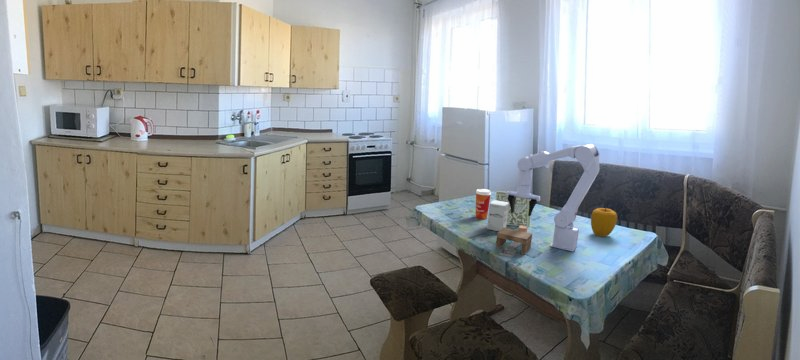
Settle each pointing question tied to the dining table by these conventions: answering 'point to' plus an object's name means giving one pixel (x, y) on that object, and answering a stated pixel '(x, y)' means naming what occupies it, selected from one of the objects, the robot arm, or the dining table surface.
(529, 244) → the walnut shelf
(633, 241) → the dining table surface
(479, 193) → the paper cup
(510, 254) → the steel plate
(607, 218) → the apple
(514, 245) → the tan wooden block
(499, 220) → the supplement box
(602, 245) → the dining table surface
